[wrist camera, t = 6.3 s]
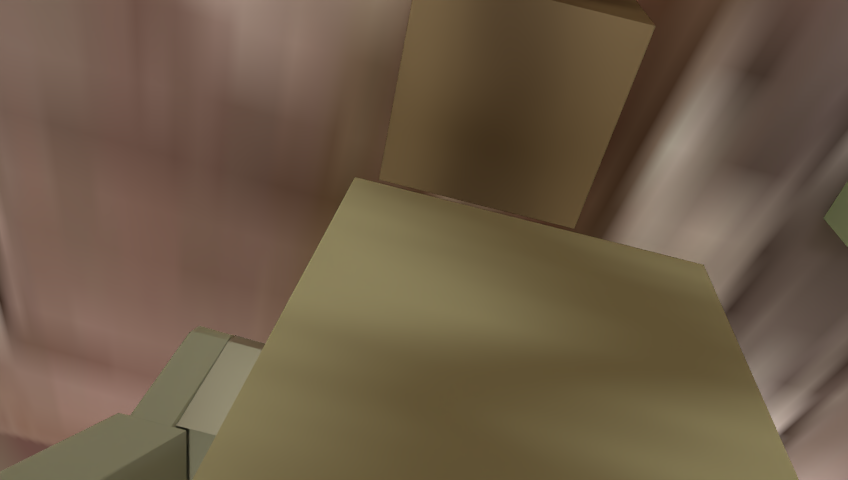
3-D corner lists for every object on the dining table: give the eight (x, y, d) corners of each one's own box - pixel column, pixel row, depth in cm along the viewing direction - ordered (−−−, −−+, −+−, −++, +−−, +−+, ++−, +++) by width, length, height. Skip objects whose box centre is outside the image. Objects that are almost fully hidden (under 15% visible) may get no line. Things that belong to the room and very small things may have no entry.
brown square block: (634, -1, 21) (655, 26, 18) (567, 178, 25) (573, 228, 21) (435, -50, 21) (418, -34, 18) (398, 136, 25) (378, 179, 21)
